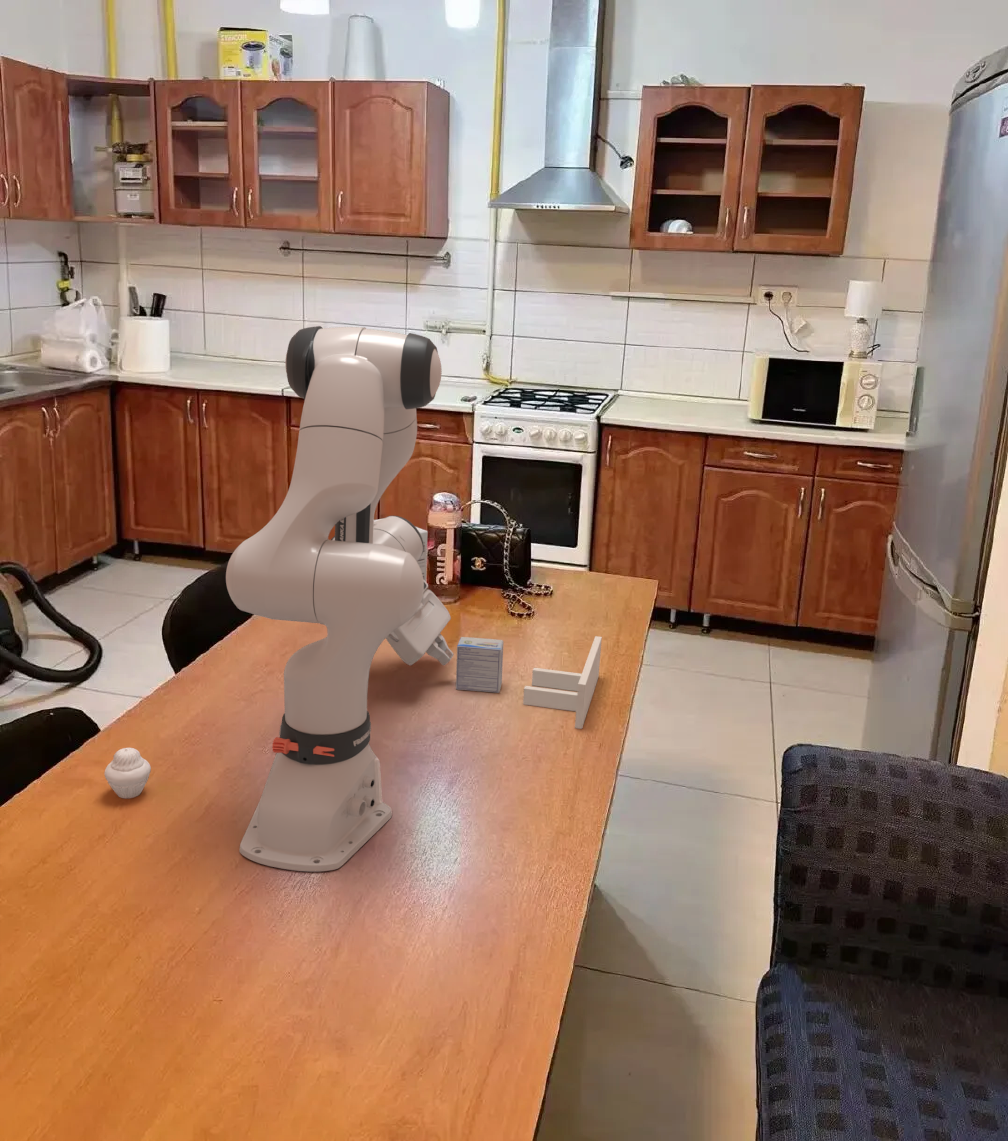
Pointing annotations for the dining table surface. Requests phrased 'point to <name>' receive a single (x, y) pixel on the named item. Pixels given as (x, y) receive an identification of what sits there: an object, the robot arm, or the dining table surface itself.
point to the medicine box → (479, 664)
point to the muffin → (127, 773)
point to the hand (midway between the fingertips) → (449, 660)
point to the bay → (566, 686)
